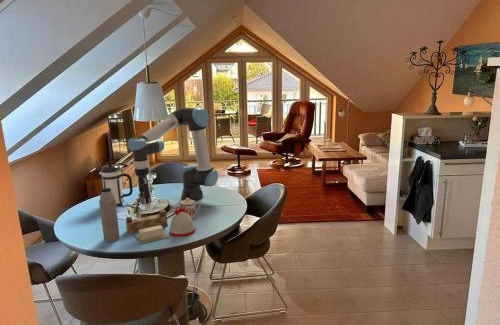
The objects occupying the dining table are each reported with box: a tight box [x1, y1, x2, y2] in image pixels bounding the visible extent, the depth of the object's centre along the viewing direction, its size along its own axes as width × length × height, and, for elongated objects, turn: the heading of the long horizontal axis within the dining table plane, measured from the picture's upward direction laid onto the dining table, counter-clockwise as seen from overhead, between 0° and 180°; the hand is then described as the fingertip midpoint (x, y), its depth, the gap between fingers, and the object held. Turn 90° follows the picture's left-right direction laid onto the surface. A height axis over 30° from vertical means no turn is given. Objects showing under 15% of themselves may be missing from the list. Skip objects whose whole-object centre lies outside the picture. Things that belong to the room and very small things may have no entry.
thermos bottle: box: [98, 188, 121, 243], centre depth 196 cm, size 8×8×28 cm
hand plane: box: [125, 209, 169, 235], centre depth 211 cm, size 22×5×8 cm, turn 119°
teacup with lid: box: [180, 198, 201, 219], centre depth 228 cm, size 12×9×12 cm
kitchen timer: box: [169, 205, 196, 238], centre depth 205 cm, size 14×14×15 cm
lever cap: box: [138, 193, 152, 206], centre depth 208 cm, size 5×8×6 cm, turn 29°
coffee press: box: [98, 161, 134, 207], centre depth 250 cm, size 17×16×30 cm
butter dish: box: [134, 225, 169, 245], centre depth 200 cm, size 15×12×5 cm
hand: (145, 206), depth 209 cm, fingers closed on lever cap, 8 cm apart
